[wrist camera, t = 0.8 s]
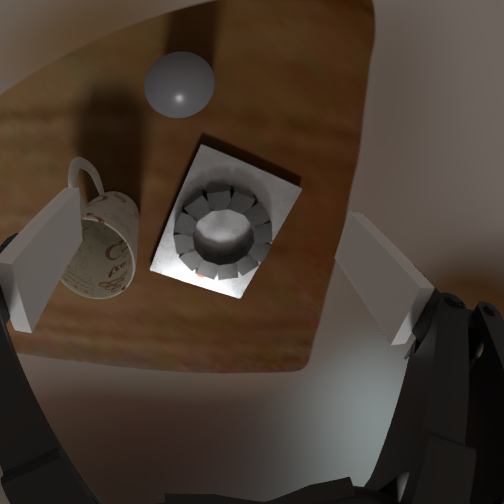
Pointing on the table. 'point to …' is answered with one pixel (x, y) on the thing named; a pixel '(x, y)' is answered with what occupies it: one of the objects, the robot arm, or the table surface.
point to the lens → (179, 84)
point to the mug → (103, 240)
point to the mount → (223, 222)
